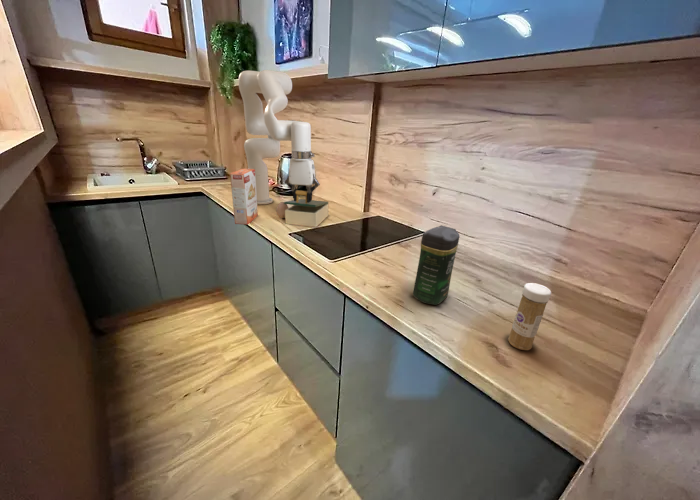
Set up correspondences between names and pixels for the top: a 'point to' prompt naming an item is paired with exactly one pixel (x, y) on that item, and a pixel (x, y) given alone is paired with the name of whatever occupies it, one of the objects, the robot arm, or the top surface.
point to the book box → (306, 215)
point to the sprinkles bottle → (529, 315)
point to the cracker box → (244, 195)
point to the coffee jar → (435, 264)
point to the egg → (281, 209)
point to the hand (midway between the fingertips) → (302, 200)
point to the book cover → (304, 202)
